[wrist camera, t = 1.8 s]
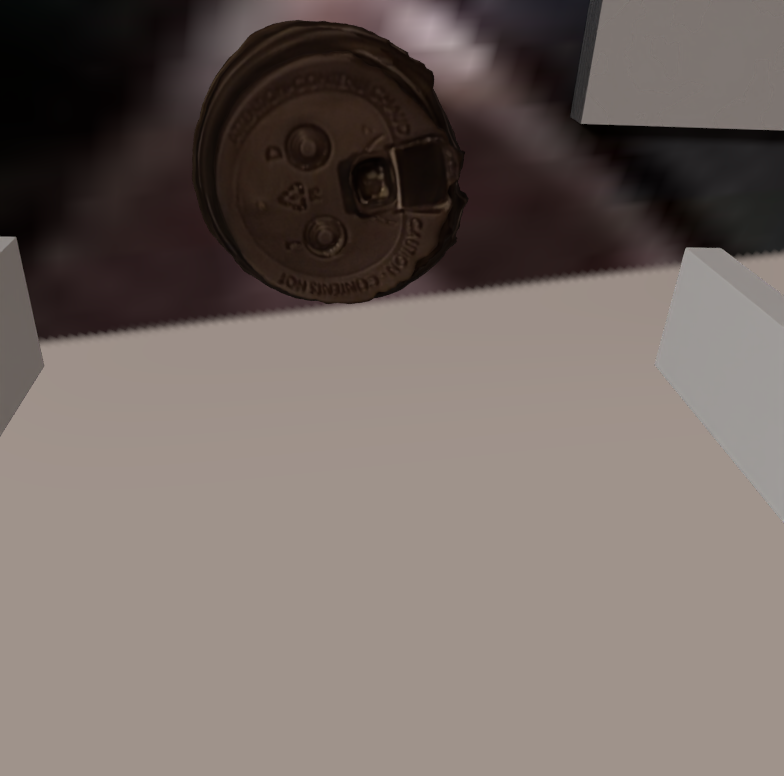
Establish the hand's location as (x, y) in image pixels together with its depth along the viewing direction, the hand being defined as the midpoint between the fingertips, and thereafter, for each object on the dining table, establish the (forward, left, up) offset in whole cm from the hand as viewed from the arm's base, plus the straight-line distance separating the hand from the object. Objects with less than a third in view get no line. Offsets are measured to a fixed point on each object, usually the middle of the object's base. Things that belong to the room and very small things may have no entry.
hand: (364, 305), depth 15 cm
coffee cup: (0, 0, -21) cm, 21 cm away
